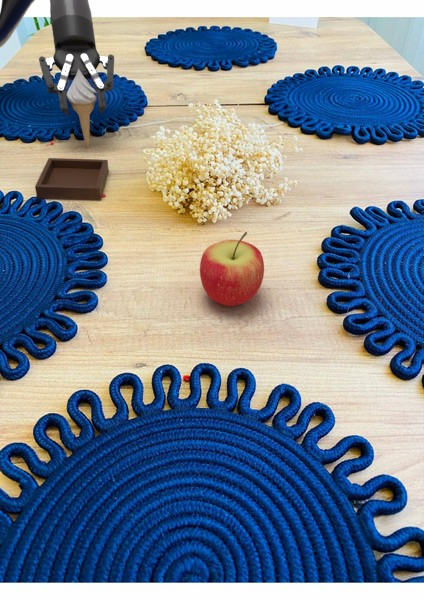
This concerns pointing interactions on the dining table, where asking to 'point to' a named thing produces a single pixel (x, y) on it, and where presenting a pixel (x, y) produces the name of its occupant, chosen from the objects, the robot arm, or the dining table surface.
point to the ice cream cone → (82, 102)
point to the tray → (72, 179)
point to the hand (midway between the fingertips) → (84, 112)
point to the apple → (231, 271)
